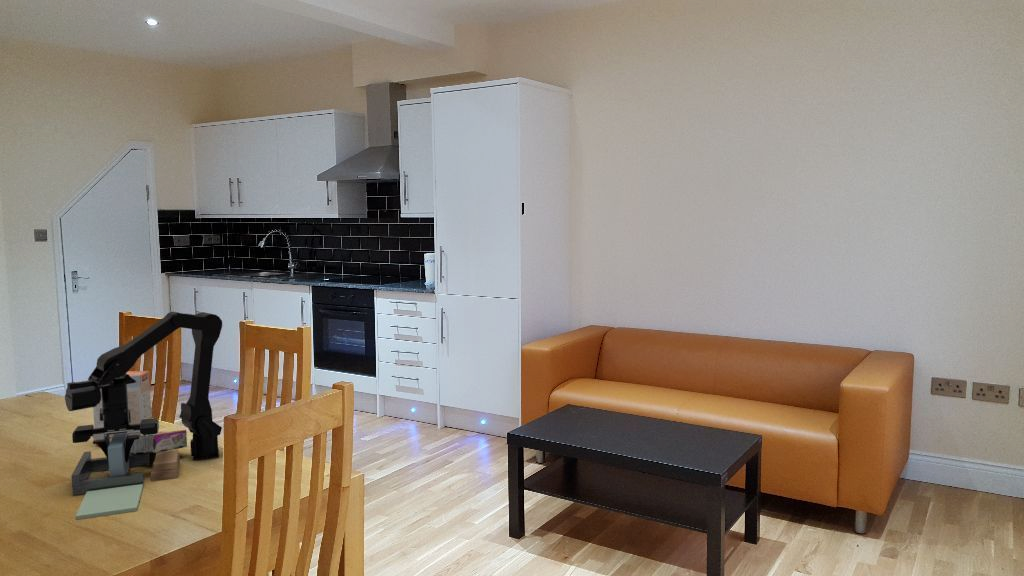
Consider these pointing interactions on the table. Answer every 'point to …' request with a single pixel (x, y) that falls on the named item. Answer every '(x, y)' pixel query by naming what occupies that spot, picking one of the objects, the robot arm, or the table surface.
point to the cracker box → (132, 400)
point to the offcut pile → (165, 465)
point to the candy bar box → (159, 442)
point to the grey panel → (117, 455)
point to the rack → (99, 464)
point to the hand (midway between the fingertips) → (119, 463)
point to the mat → (110, 501)
